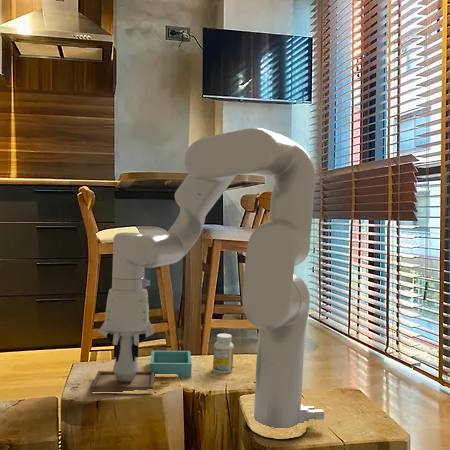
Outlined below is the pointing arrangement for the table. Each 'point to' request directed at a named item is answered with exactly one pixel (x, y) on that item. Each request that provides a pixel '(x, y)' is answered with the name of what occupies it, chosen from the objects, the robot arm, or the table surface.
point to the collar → (171, 362)
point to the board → (109, 382)
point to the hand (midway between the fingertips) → (125, 359)
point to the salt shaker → (125, 359)
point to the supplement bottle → (223, 354)
